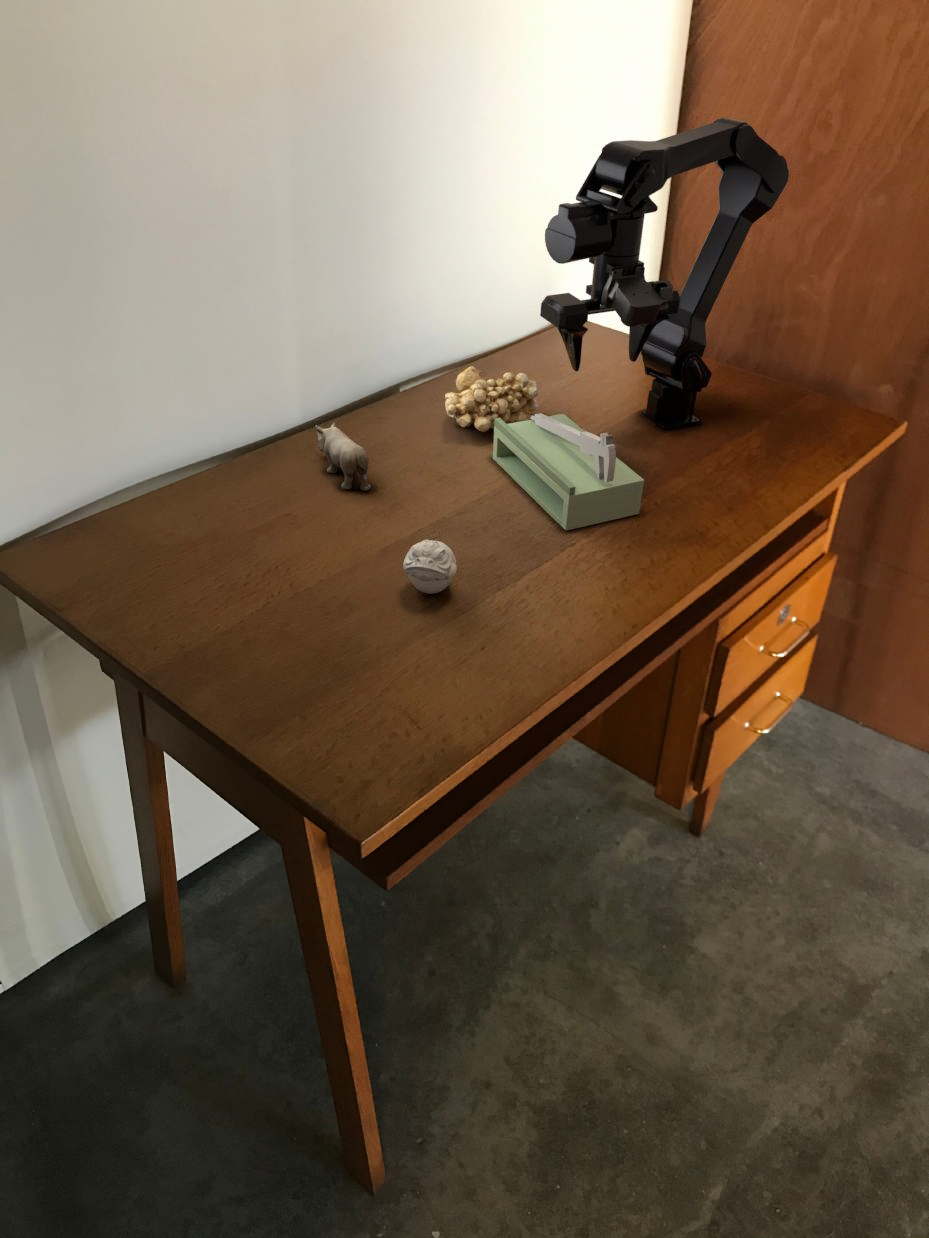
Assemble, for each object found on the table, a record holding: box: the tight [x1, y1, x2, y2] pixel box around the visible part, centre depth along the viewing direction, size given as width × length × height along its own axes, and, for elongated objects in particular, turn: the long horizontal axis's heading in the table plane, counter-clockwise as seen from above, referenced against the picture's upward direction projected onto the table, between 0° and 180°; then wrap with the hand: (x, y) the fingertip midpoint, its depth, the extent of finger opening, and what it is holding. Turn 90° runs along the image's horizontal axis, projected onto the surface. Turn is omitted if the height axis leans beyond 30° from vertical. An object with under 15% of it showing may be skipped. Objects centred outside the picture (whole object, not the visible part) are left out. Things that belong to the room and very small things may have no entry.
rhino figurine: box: [315, 422, 371, 492], centre depth 136 cm, size 4×14×6 cm, turn 30°
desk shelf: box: [492, 413, 645, 531], centre depth 134 cm, size 11×21×6 cm, turn 25°
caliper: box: [530, 412, 617, 483], centre depth 132 cm, size 20×1×6 cm, turn 25°
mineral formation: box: [444, 365, 540, 433], centre depth 148 cm, size 8×13×15 cm
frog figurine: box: [402, 539, 458, 595], centre depth 113 cm, size 6×7×7 cm
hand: (604, 365), depth 139 cm, fingers open, 9 cm apart
